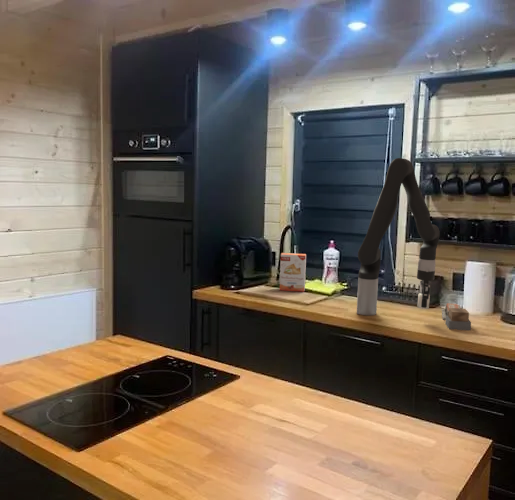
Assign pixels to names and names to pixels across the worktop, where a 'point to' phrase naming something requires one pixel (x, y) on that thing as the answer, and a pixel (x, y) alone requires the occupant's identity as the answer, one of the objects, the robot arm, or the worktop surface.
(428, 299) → the cream cylinder
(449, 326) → the charcoal base block
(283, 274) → the cracker box
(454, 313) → the walnut block
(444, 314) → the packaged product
